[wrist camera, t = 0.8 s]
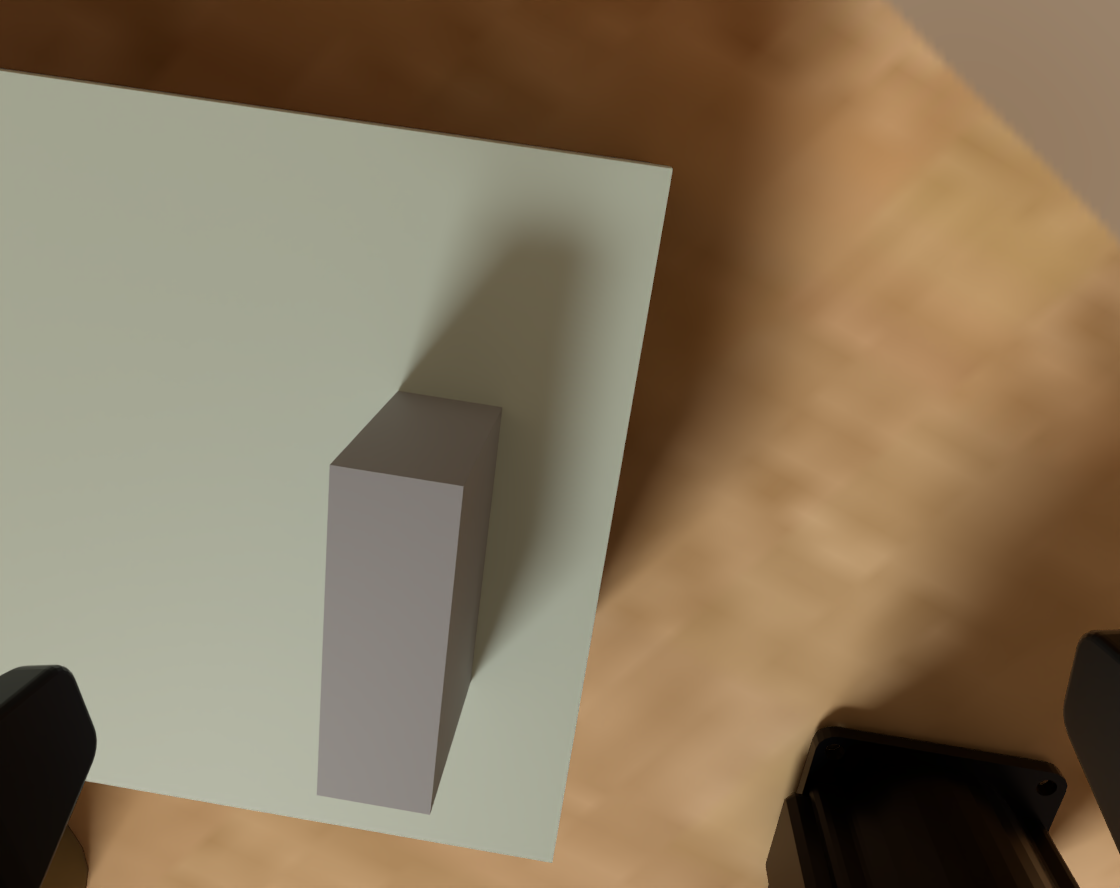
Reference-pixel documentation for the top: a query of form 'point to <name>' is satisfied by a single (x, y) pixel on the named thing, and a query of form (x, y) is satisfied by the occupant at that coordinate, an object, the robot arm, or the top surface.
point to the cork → (67, 864)
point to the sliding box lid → (314, 448)
